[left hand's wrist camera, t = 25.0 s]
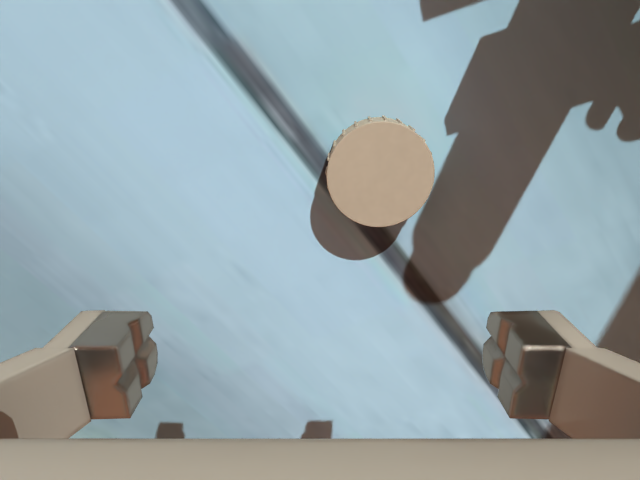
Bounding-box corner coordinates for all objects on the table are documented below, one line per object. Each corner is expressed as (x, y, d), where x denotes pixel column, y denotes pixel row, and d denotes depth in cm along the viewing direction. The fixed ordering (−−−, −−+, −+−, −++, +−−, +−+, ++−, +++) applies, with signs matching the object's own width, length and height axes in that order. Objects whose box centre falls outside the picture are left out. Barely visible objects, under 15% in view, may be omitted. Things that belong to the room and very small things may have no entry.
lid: (408, 97, 19) (415, 100, 17) (441, 193, 21) (450, 205, 19) (310, 140, 20) (307, 147, 18) (349, 229, 22) (349, 243, 20)
